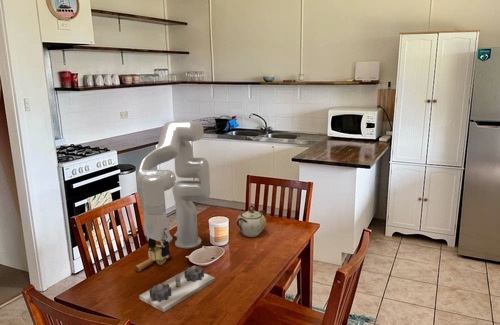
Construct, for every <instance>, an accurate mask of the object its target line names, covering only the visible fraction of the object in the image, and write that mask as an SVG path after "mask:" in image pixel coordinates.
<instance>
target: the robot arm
mask: <svg viewBox="0 0 500 325" xmlns="http://www.w3.org/2000/svg"><path fill="white" fill-rule="evenodd" d="M203 136H204V126H203V123H202V122H200V121H199V120H178V121H177V120H176V121H175V120H173V121H168V122H166V123H165V124H164V125H163V126H162V130H161V133H160V135H159V139H158V143H157V147H156V148H154V149H153V150H152V151H150V152H149V153H148V154H147V155H146V156H144V158H143V159H142V161H141V163H140V164H139V167H138V171H137V173H136V185H137V187H138V188H139V189H141V190H142V196H143V198H142V199H143V207H144V212H143V228H142V230H143V233H144V236H145V237H146V241H147V246H148V247H147V248H148V250H149V248H150V247H154V246H155V245H157V242H160V245H162V247H161V252H162V257H165V256H167V255H169V254H170V251H169V248H170V245H171V243H172V241H173V237H172V235H171V233H170V226H169V220H168V215H167V208H166V198H165V197H166V194H165V191H168V190H170V189H171V190H172V194H173V200H174V203H175V204H174V205H175V214H176V216H175V217H176V226H177V230H176V232H175V233H174V234H173V236H174V237H176V240H175V241H174V242H175V243H174V244H175V246H176V247H177V248H178V249H186V250H187V249H193V248H196V247H198V246H200V245H201V244H202V239H201V238H200V236H199V235H198V217H197V216H198V215H197V208H196V205H195V203H194V202H195V201H196V202H203V201H208V200H209V198H210V197H211V196H210V194H211V178H210V176H211V175H210V165H209V161H208V159H206V158H205V157H194V152H193V149H194V148H193V145H192V144H191V142H196V141H200V140H201V139H202V138H203ZM171 160H174V170H175V171H174V172H175V173H174V172H173V171H172V170H170V169H154V168H155V167H156V166H158V165H161V164H164V163H166V162H167V163H168V162H169V161H171ZM176 176H177V177H178V178H181V179H183V178H184V179H198V180H179V181H176ZM164 240H165V242H164Z"/></svg>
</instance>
